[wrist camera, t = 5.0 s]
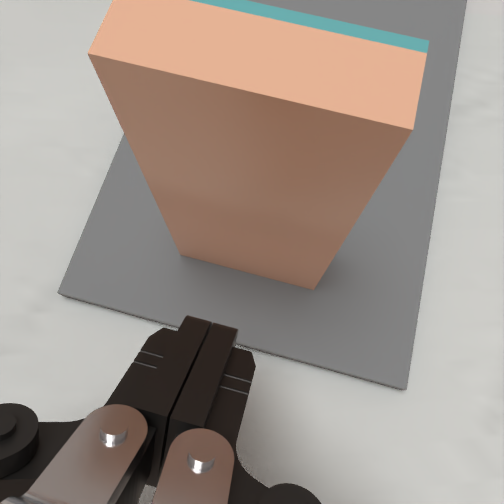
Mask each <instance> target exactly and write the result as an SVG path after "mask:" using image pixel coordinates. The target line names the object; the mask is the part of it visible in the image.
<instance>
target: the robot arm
mask: <svg viewBox="0 0 504 504" xmlns="http://www.w3.org/2000/svg"><path fill="white" fill-rule="evenodd" d="M237 335H238V329H236V328H232V327H229V326H225V325H221V324H218V323H213V324H212V322H211V321H207V320H204V319H200V318H196V317H193V316H189V315H187V316H186V317H185V318H184V320H183V322H182V324H181V325H180V327H179V329H178V331H174V330H171V329H167V328H162V329H160V330H159V331H157V332H156V333H154V334H153V335H151V336H149V338H148V339H147V341H146V342H145V344H144V345H143V347H142V349H141V351H140V352H139V353H138V355H137V356H136V358H135V359H134V362H133V363H132V364H131V366H130V367H129V369H128V370H127V372H126V373H125V375H124V376H123V378H122V379H121V381H120V383H119V384H118V386H117V387H116V389H115V390H114V392H113V393H112V395H111V397H110V398H109V400H108V401H107V403H106V404H105V405H104V406H103V407H101V408H98V409H96V410H95V411H93V412H92V413H90V414H89V415H88V416H87V417H86V418H84V419H81V420H78V421H72V422H38V418H37V415H36V414H35V413H34V411H32V410H31V409H30V408H28V407H26V406H24V405H21V404H15V403H6V404H0V504H138V502H139V498H140V495H141V493H142V491H143V488H144V486H145V484H147V485H151V486H154V487H157V488H156V492H155V495H154V498H153V501H152V504H321V503H320V501H319V500H318V499H317V498H316V497H315V496H314V495H313V494H312V493H311V492H310V491H308V490H307V489H305V488H303V487H301V486H298V485H295V484H288V483H284V484H278V485H275V486H273V487H271V488H270V489H269V488H267V487H266V486H264V485H263V484H261V483H260V482H258V481H257V480H255V479H254V478H253V477H252V476H250V475H249V474H248V473H247V472H246V471H245V469H244V468H243V467H242V465H241V464H240V462H239V460H238V457H237V453H236V441H237V437H238V433H239V429H240V425H241V421H242V417H243V413H244V410H245V406H246V402H247V398H248V394H249V390H250V386H251V383H252V379H253V375H254V371H255V367H256V366H255V362H254V359H253V355H252V352H250V351H246V350H243V349H239V348H235V344H236V339H237Z"/></svg>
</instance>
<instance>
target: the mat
mask: <svg viewBox="0 0 504 504" xmlns="http://www.w3.org/2000/svg"><path fill="white" fill-rule="evenodd" d="M247 1H252V2H256V3H261V4H265V5H270V6H274V7H279V8H283V9H288V10H292V11H297V12H301V13H306V14H310V15H315V16H320V17H324V18H329V19H333V20H338V21H342V22H347V23H351V24H356V25H360V26H365V27H369V28H374V29H378V30H383V31H388V32H392V33H397V34H401V35H406V36H410V37H415V38H419V39H424V40H428V41H429V46H428V51H427V56H426V62H425V67H424V73H423V78H422V84H421V89H420V95H419V100H418V106H417V111H416V117H415V122H414V128H413V131H412V132H411V134H410V136H409V137H408V139H407V140H406V142H405V144H404V145H403V147H402V149H401V150H400V152H399V153H398V155H397V157H396V158H395V160H394V161H393V163H392V165H391V166H390V168H389V169H388V171H387V173H386V174H385V176H384V178H383V179H382V181H381V182H380V184H379V186H378V187H377V189H376V190H375V192H374V194H373V195H372V197H371V199H370V200H369V202H368V203H367V205H366V207H365V208H364V210H363V211H362V213H361V215H360V216H359V218H358V219H357V221H356V223H355V224H354V226H353V228H352V229H351V231H350V232H349V234H348V236H347V237H346V239H345V240H344V242H343V244H342V245H341V247H340V248H339V250H338V252H337V253H336V255H335V257H334V258H333V260H332V261H331V263H330V265H329V266H328V268H327V269H326V271H325V273H324V274H323V276H322V277H321V279H320V281H319V282H318V284H317V286H316V287H315V289H314V290H311V289H307V288H303V287H300V286H296V285H292V284H288V283H285V282H281V281H277V280H273V279H270V278H266V277H262V276H258V275H255V274H251V273H247V272H243V271H240V270H236V269H232V268H228V267H224V266H221V265H217V264H213V263H209V262H206V261H202V260H198V259H194V258H191V257H187V256H183V255H180V253H179V251H178V249H177V247H176V244H175V242H174V240H173V238H172V236H171V234H170V231H169V229H168V227H167V225H166V223H165V221H164V218H163V216H162V214H161V212H160V210H159V208H158V205H157V203H156V201H155V199H154V197H153V194H152V192H151V190H150V188H149V186H148V184H147V181H146V179H145V177H144V175H143V173H142V171H141V168H140V166H139V164H138V162H137V160H136V157H135V155H134V153H133V151H132V149H131V147H130V144H129V142H128V140H127V138H126V136H125V134H124V135H123V137H122V140H121V142H120V144H119V147H118V149H117V151H116V154H115V156H114V159H113V161H112V163H111V166H110V168H109V171H108V173H107V175H106V178H105V180H104V183H103V185H102V187H101V190H100V192H99V194H98V197H97V199H96V202H95V204H94V206H93V209H92V211H91V214H90V216H89V218H88V221H87V223H86V225H85V228H84V230H83V233H82V235H81V237H80V240H79V242H78V245H77V247H76V249H75V252H74V254H73V256H72V259H71V261H70V264H69V266H68V268H67V271H66V273H65V276H64V278H63V280H62V283H61V285H60V287H59V290H58V292H57V293H59V294H61V295H62V296H65V297H69V298H73V299H76V300H80V301H83V302H87V303H91V304H94V305H98V306H101V307H105V308H109V309H112V310H116V311H119V312H123V313H127V314H130V315H134V316H137V317H141V318H145V319H148V320H152V321H155V322H159V323H163V324H166V325H170V326H173V327H177V328H179V327H180V325H181V324H182V322H183V320H184V318H185V317H186V316H187V315H189V316H193V317H196V318H200V319H204V320H207V321H211V322H212V324H213V323H218V324H221V325H225V326H229V327H232V328H236V329H238V335H237V339H236V344H238V345H242V346H245V347H249V348H252V349H256V350H260V351H263V352H267V353H270V354H274V355H278V356H281V357H285V358H288V359H292V360H296V361H299V362H303V363H306V364H310V365H314V366H317V367H321V368H324V369H328V370H332V371H335V372H339V373H342V374H346V375H350V376H353V377H357V378H360V379H364V380H368V381H371V382H375V383H378V384H382V385H386V386H389V387H393V388H396V389H400V390H407V383H408V377H409V370H410V364H411V357H412V351H413V344H414V338H415V332H416V325H417V319H418V312H419V306H420V299H421V293H422V286H423V280H424V274H425V267H426V261H427V254H428V248H429V241H430V235H431V228H432V222H433V216H434V209H435V203H436V196H437V190H438V183H439V177H440V170H441V164H442V158H443V151H444V145H445V138H446V132H447V125H448V119H449V112H450V106H451V100H452V93H453V87H454V80H455V74H456V67H457V61H458V54H459V48H460V42H461V35H462V29H463V22H464V16H465V9H466V3H467V0H247Z"/></svg>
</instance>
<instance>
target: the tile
mask: <svg viewBox="0 0 504 504" xmlns="http://www.w3.org/2000/svg"><path fill="white" fill-rule="evenodd" d="M428 46H429V41H428V40H424V39H419V38H415V37H410V36H406V35H401V34H397V33H392V32H388V31H383V30H378V29H374V28H369V27H365V26H360V25H356V24H351V23H347V22H342V21H338V20H333V19H329V18H324V17H320V16H315V15H310V14H306V13H301V12H297V11H292V10H288V9H283V8H279V7H274V6H270V5H265V4H261V3H256V2H252V1H247V0H113V1H112V3H111V5H110V8H109V10H108V12H107V14H106V16H105V18H104V20H103V22H102V24H101V26H100V28H99V30H98V32H97V35H96V37H95V39H94V41H93V43H92V45H91V47H90V49H89V51H88V55H89V57H90V60H91V62H92V64H93V66H94V68H95V71H96V73H97V75H98V77H99V79H100V81H101V84H102V86H103V88H104V90H105V92H106V94H107V97H108V99H109V101H110V103H111V105H112V107H113V110H114V112H115V114H116V116H117V118H118V121H119V123H120V125H121V127H122V129H123V131H124V134H125V136H126V138H127V140H128V142H129V144H130V147H131V149H132V151H133V153H134V155H135V157H136V160H137V162H138V164H139V166H140V168H141V171H142V173H143V175H144V177H145V179H146V181H147V184H148V186H149V188H150V190H151V192H152V194H153V197H154V199H155V201H156V203H157V205H158V208H159V210H160V212H161V214H162V216H163V218H164V221H165V223H166V225H167V227H168V229H169V231H170V234H171V236H172V238H173V240H174V242H175V244H176V247H177V249H178V251H179V253H180V255H183V256H187V257H191V258H194V259H198V260H202V261H206V262H209V263H213V264H217V265H221V266H224V267H228V268H232V269H236V270H240V271H243V272H247V273H251V274H255V275H258V276H262V277H266V278H270V279H273V280H277V281H281V282H285V283H288V284H292V285H296V286H300V287H303V288H307V289H311V290H314V289H315V287H316V286H317V284H318V282H319V281H320V279H321V277H322V276H323V274H324V273H325V271H326V269H327V268H328V266H329V265H330V263H331V261H332V260H333V258H334V257H335V255H336V253H337V252H338V250H339V248H340V247H341V245H342V244H343V242H344V240H345V239H346V237H347V236H348V234H349V232H350V231H351V229H352V228H353V226H354V224H355V223H356V221H357V219H358V218H359V216H360V215H361V213H362V211H363V210H364V208H365V207H366V205H367V203H368V202H369V200H370V199H371V197H372V195H373V194H374V192H375V190H376V189H377V187H378V186H379V184H380V182H381V181H382V179H383V178H384V176H385V174H386V173H387V171H388V169H389V168H390V166H391V165H392V163H393V161H394V160H395V158H396V157H397V155H398V153H399V152H400V150H401V149H402V147H403V145H404V144H405V142H406V140H407V139H408V137H409V136H410V134H411V132H412V131H413V128H414V122H415V117H416V111H417V106H418V100H419V95H420V89H421V84H422V78H423V73H424V67H425V62H426V56H427V51H428Z"/></svg>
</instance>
